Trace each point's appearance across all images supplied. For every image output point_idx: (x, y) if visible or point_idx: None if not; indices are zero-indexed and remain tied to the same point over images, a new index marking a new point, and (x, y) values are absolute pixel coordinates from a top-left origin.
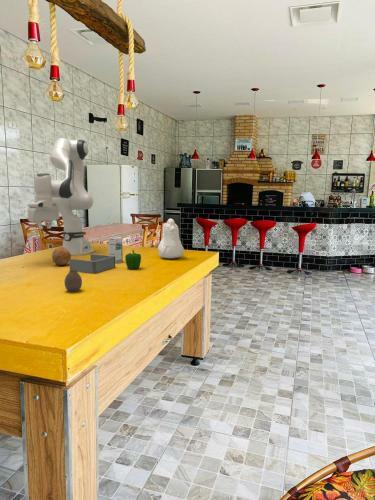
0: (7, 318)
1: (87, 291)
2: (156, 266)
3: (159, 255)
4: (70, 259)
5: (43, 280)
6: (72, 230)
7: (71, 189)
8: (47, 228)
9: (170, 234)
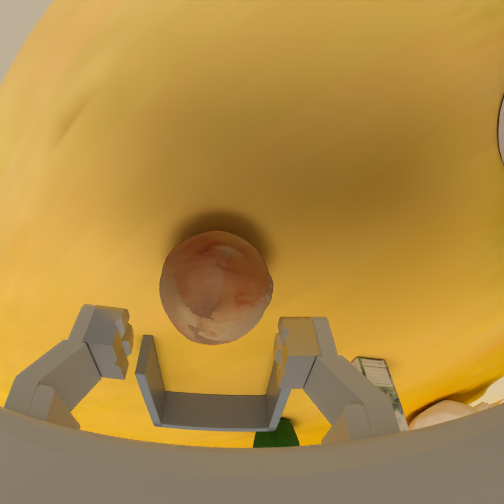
0: None
1: None
2: (320, 435)
3: (434, 406)
4: (136, 375)
5: (16, 333)
6: None
7: None
8: (280, 320)
9: None
